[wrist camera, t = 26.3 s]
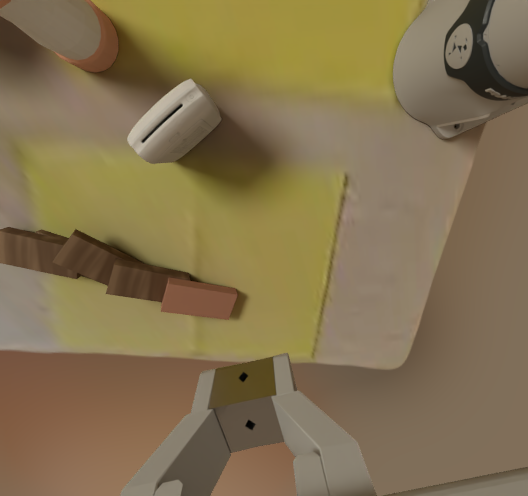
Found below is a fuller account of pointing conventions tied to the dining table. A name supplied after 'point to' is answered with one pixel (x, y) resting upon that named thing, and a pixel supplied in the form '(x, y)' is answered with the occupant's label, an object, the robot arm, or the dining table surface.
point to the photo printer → (175, 124)
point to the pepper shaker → (67, 30)
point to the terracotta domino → (198, 299)
